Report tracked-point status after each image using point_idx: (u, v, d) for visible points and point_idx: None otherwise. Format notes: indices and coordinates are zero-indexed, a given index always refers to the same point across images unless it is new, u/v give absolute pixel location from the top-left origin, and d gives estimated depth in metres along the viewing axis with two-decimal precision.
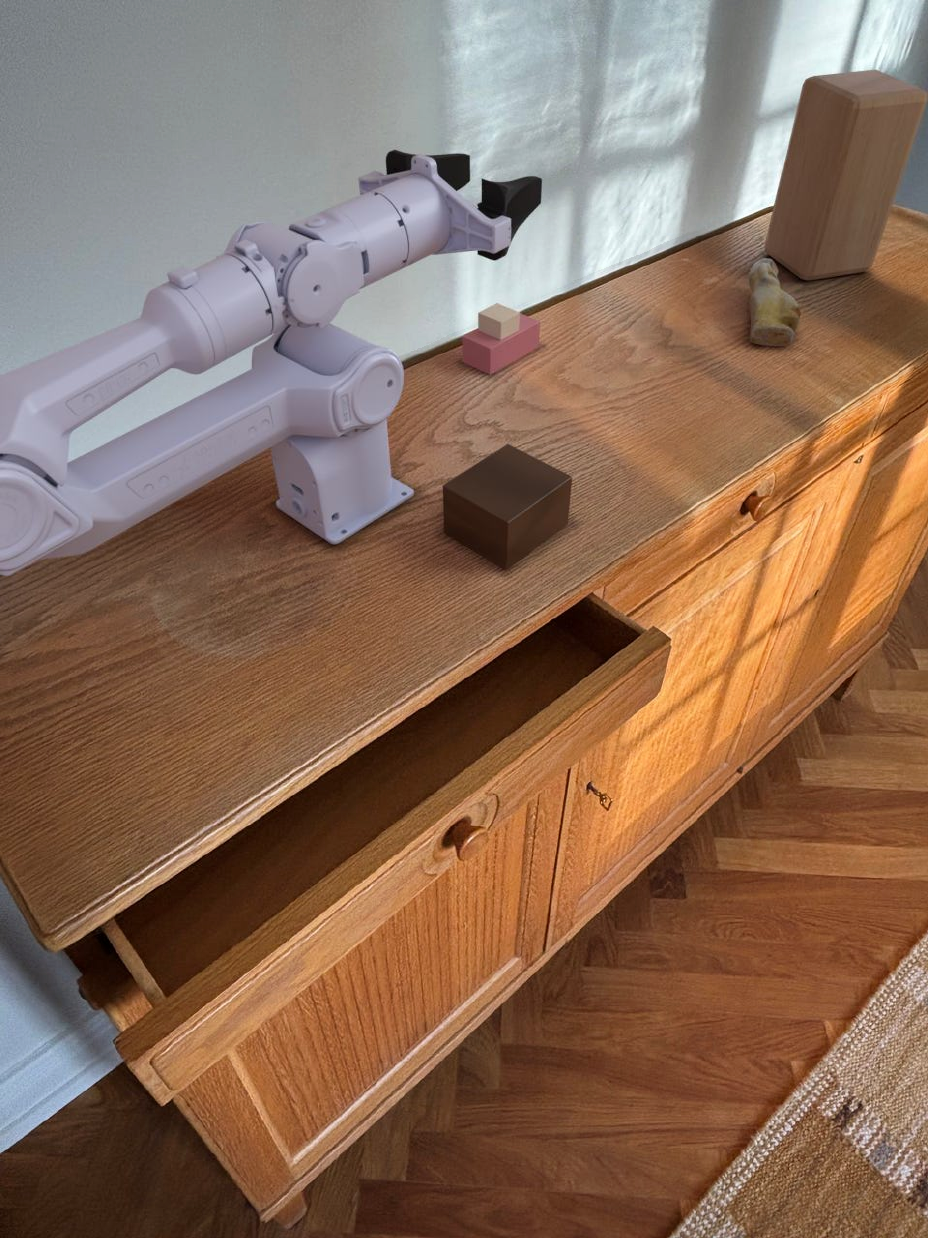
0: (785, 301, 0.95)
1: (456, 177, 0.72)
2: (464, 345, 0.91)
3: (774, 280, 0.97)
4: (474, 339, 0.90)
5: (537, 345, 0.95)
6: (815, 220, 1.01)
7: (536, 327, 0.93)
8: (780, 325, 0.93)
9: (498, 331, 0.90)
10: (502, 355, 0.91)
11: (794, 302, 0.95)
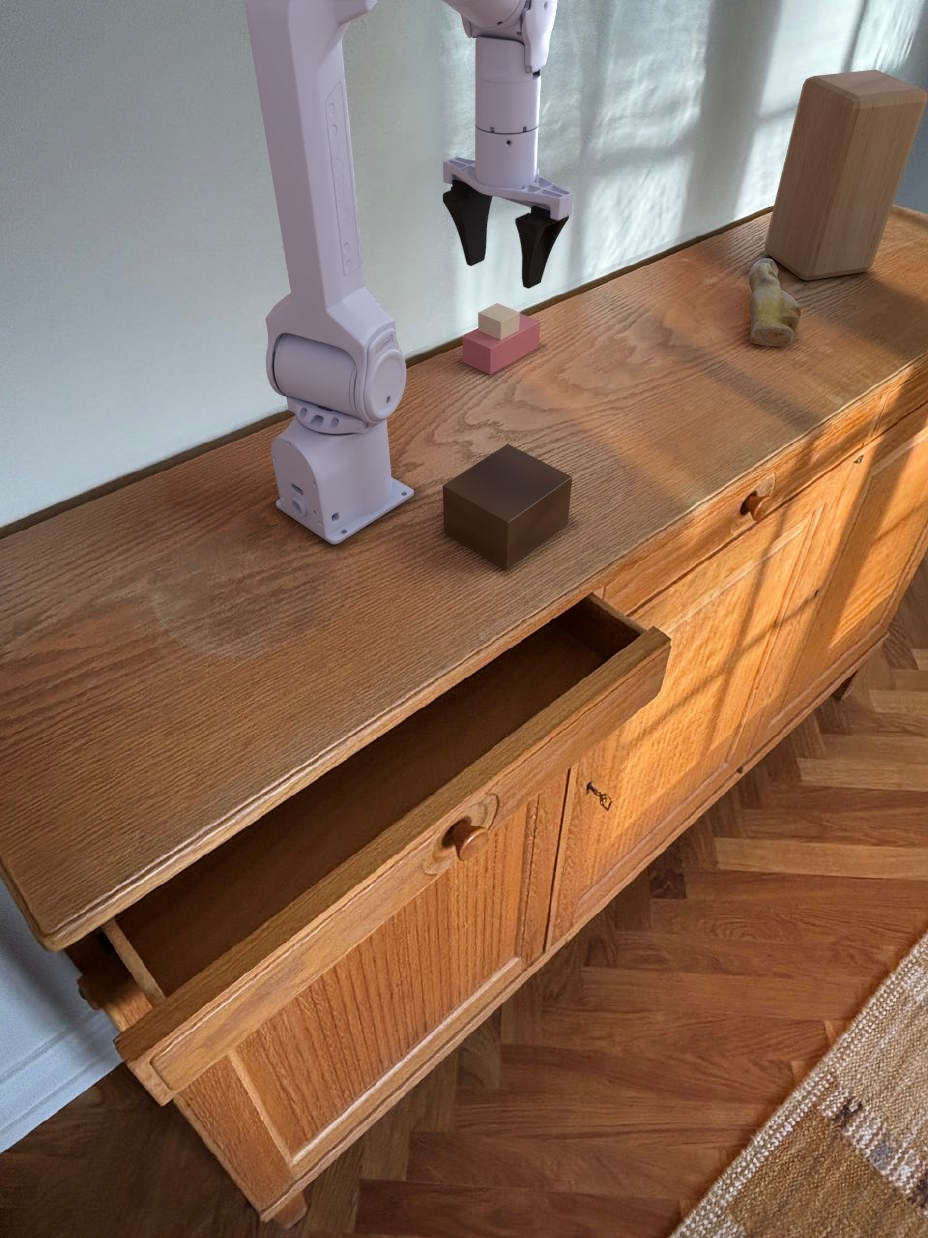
0: (785, 301, 0.95)
1: (475, 247, 0.88)
2: (464, 345, 0.91)
3: (774, 280, 0.97)
4: (474, 339, 0.90)
5: (537, 345, 0.95)
6: (815, 220, 1.01)
7: (536, 326, 0.93)
8: (780, 325, 0.93)
9: (498, 331, 0.90)
10: (502, 355, 0.91)
11: (794, 302, 0.95)
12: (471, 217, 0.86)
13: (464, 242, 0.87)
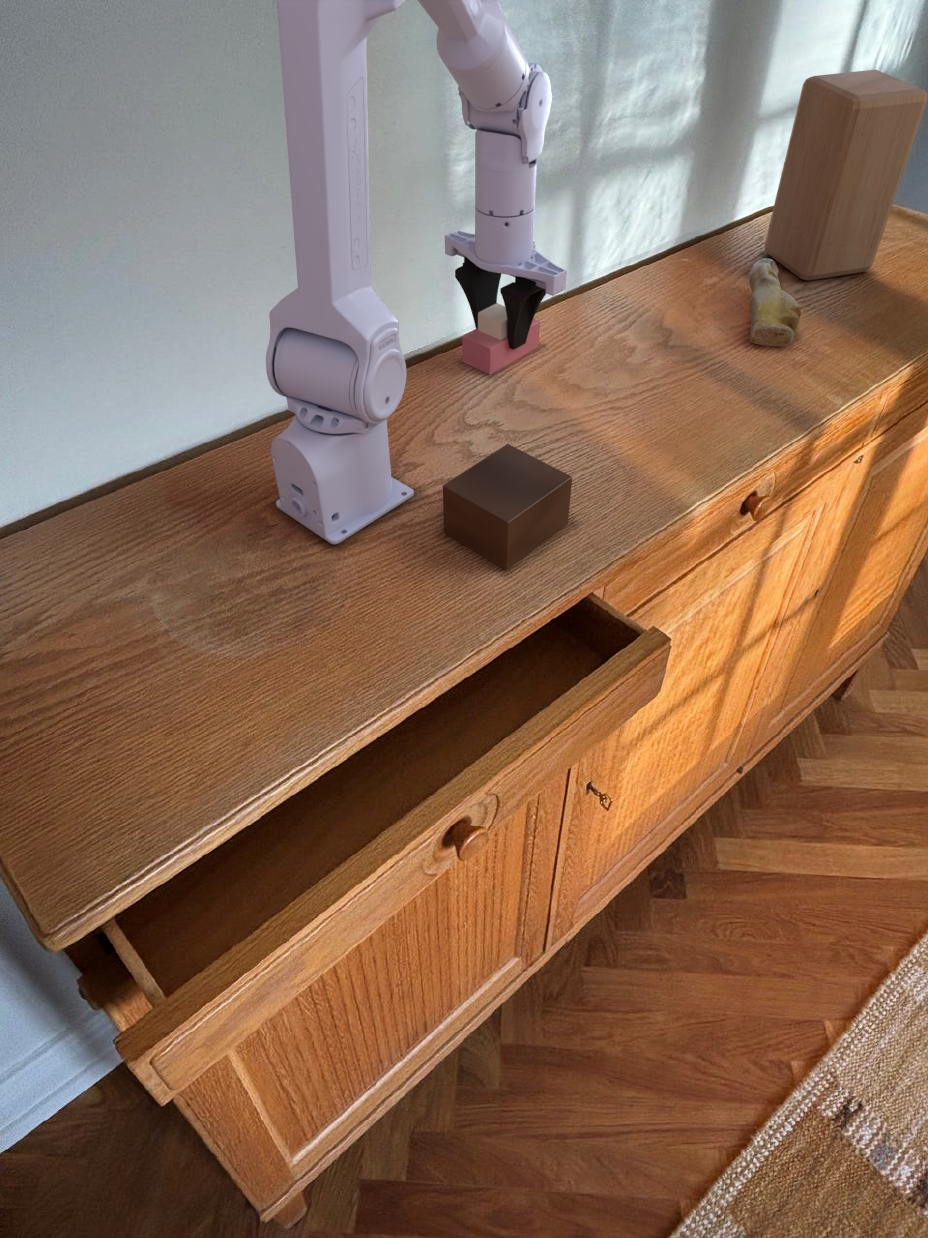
0: (785, 301, 0.95)
1: None
2: (464, 345, 0.91)
3: (774, 280, 0.97)
4: (474, 338, 0.90)
5: (537, 345, 0.95)
6: (815, 220, 1.01)
7: (536, 326, 0.93)
8: (780, 325, 0.93)
9: (498, 331, 0.90)
10: (502, 355, 0.91)
11: (794, 302, 0.95)
12: (482, 291, 0.90)
13: (475, 314, 0.91)
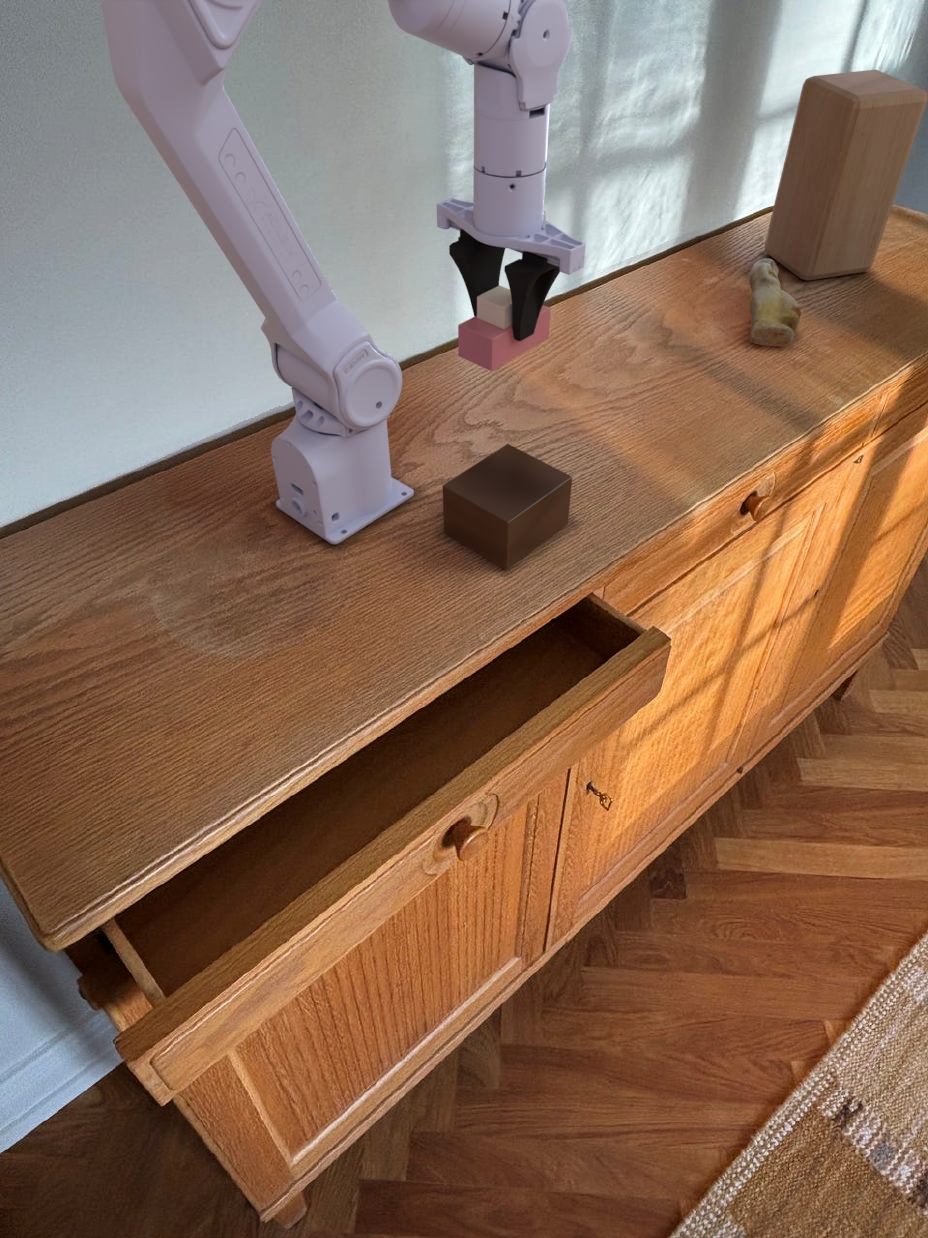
0: (785, 301, 0.95)
1: None
2: (461, 335, 0.76)
3: (774, 280, 0.97)
4: (473, 328, 0.75)
5: (547, 336, 0.80)
6: (815, 220, 1.01)
7: (546, 314, 0.78)
8: (780, 325, 0.93)
9: (501, 318, 0.75)
10: (505, 348, 0.76)
11: (794, 302, 0.95)
12: (481, 271, 0.75)
13: (473, 299, 0.76)
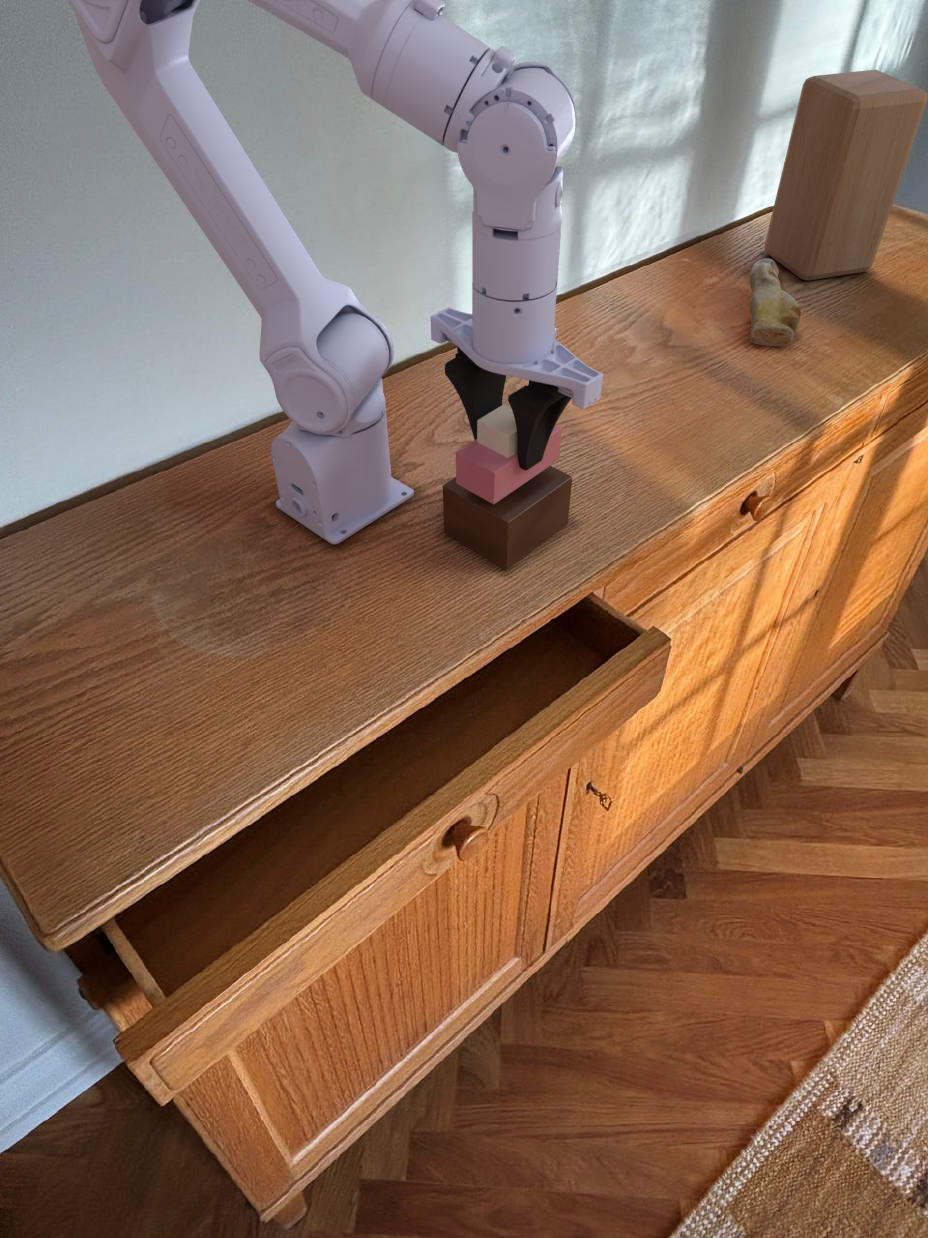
0: (785, 301, 0.95)
1: None
2: (458, 463, 0.66)
3: (774, 280, 0.97)
4: (472, 456, 0.66)
5: (557, 457, 0.70)
6: (815, 220, 1.01)
7: (556, 435, 0.68)
8: (780, 325, 0.93)
9: (505, 447, 0.65)
10: (510, 478, 0.66)
11: (794, 302, 0.95)
12: (482, 392, 0.65)
13: (472, 421, 0.66)
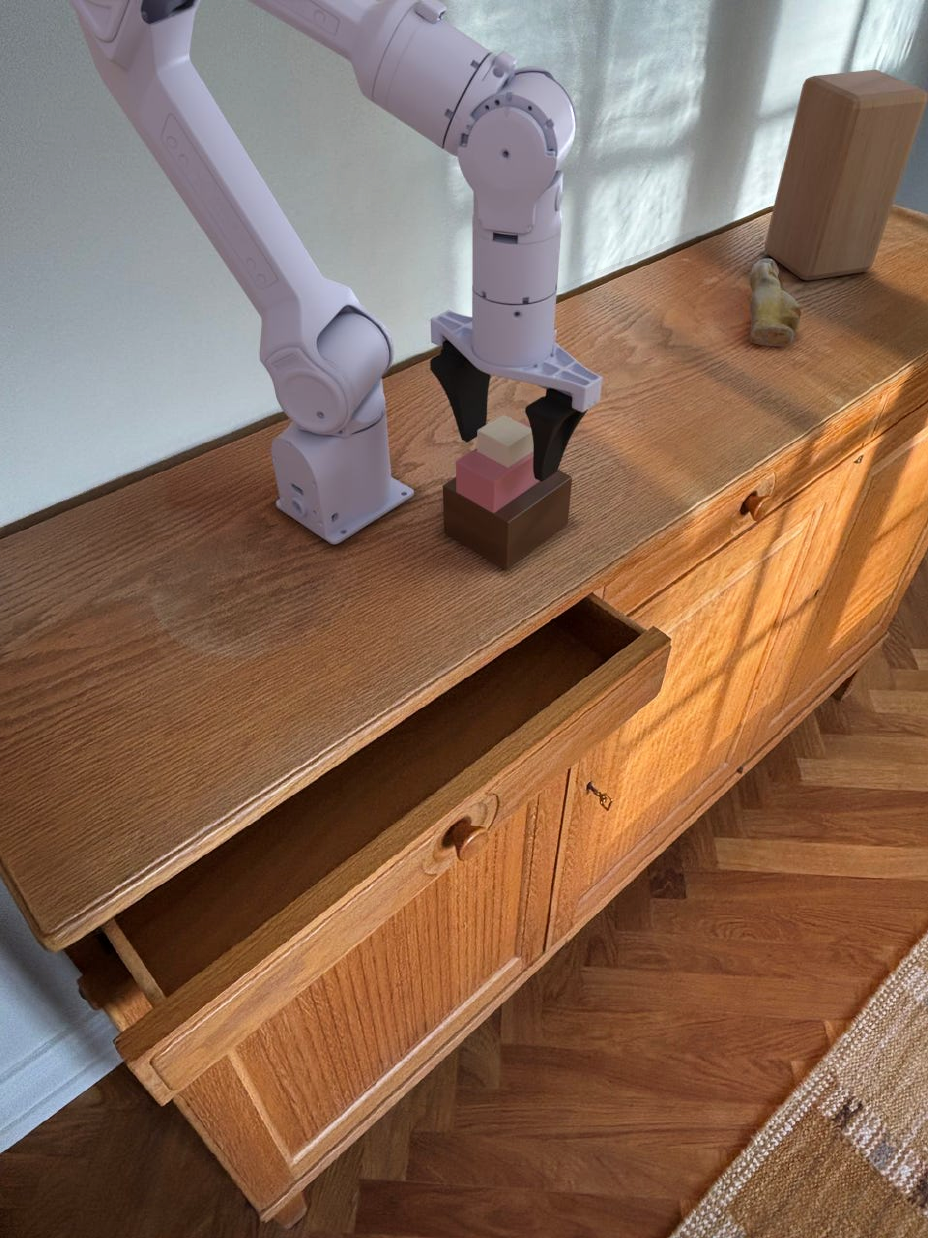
0: (785, 301, 0.95)
1: (472, 421, 0.68)
2: (459, 472, 0.67)
3: (775, 280, 0.97)
4: (472, 466, 0.66)
5: None
6: (815, 220, 1.01)
7: None
8: (780, 325, 0.93)
9: (505, 457, 0.65)
10: (510, 487, 0.67)
11: (794, 302, 0.95)
12: (467, 387, 0.66)
13: (458, 416, 0.67)
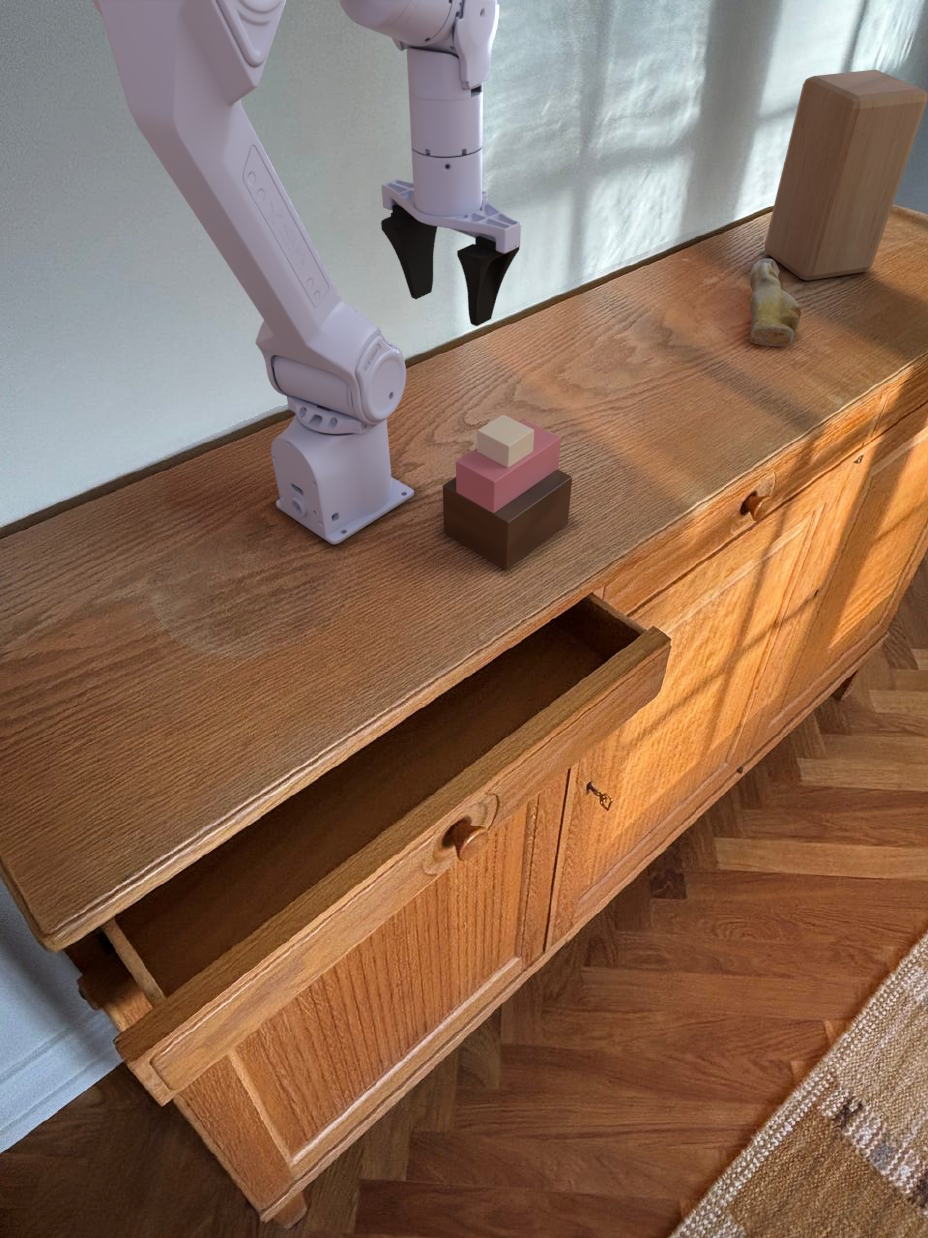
0: (785, 301, 0.95)
1: (420, 279, 0.79)
2: (459, 472, 0.67)
3: (775, 280, 0.97)
4: (472, 466, 0.66)
5: (556, 466, 0.71)
6: (815, 220, 1.01)
7: (555, 445, 0.69)
8: (780, 325, 0.93)
9: (505, 457, 0.65)
10: (510, 487, 0.67)
11: (794, 302, 0.95)
12: (414, 246, 0.77)
13: (407, 273, 0.79)
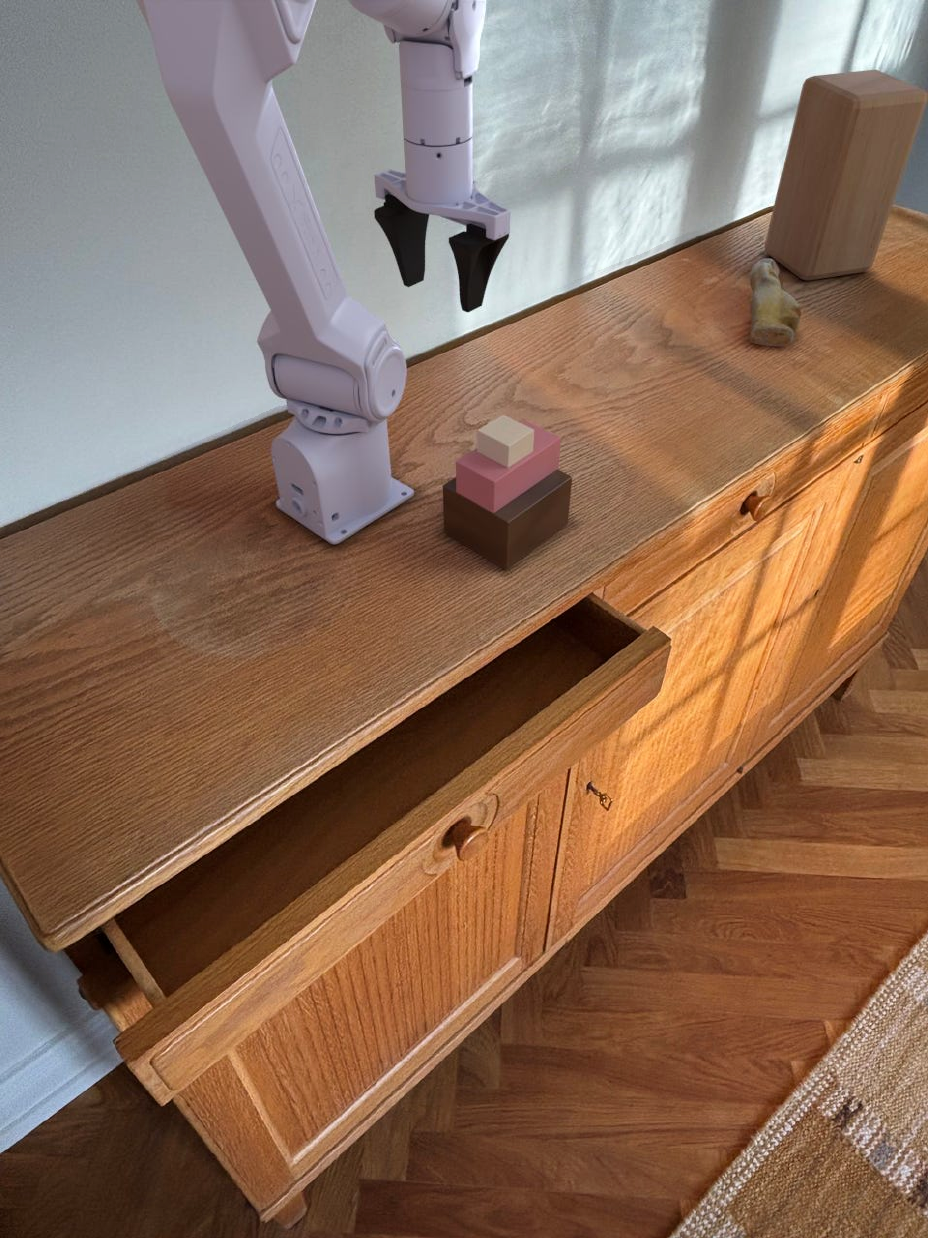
0: (785, 301, 0.95)
1: (412, 267, 0.81)
2: (459, 472, 0.67)
3: (775, 280, 0.97)
4: (472, 466, 0.66)
5: (556, 466, 0.71)
6: (815, 220, 1.01)
7: (555, 445, 0.69)
8: (780, 325, 0.93)
9: (505, 457, 0.65)
10: (510, 487, 0.67)
11: (794, 302, 0.95)
12: (406, 235, 0.79)
13: (399, 261, 0.80)
